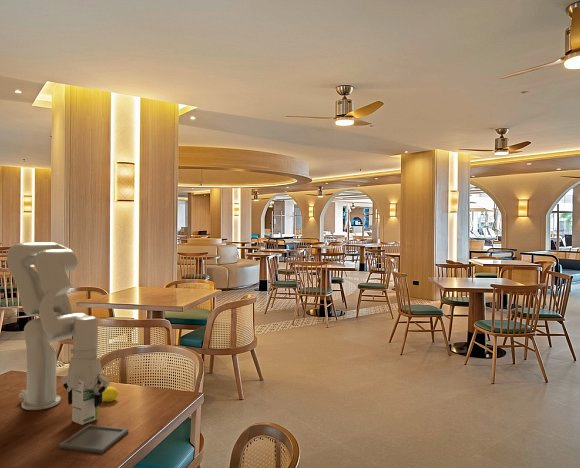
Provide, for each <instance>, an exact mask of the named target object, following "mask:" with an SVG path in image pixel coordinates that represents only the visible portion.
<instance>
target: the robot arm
mask: <svg viewBox="0 0 580 468" xmlns="http://www.w3.org/2000/svg"><path fill="white" fill-rule="evenodd" d="M6 263H7V264H6V265H7V268H8V270H9V272H10V275H11V276H12V278H13V279H14V282H15V285H16V289H17V292H18V295H19V300H20V304H21V306H22V310H23V312H24V314H25V315H27V316H29V317H34V316H39V317H36V318H34V319H30V320H29V321H28V322H26V324H25V326H24V328H23V336H24V340H25V345H26V389H22V390H20V393H18V398H21V399H22V398H23V401H22V402H21V408H22V409H23V410H28V411H40V410H45V409H50V408H53V407H54V406H56V405H58V404H60V403H61V401H62V400H61V398H62V397H61V396H60V395H57V361H58V360H57V352H56V350H55V349H54V348H53V347H52V345H51V343H55V342H58V341H63V340H67V339H70V338H72V337H73V338H72V341H73V342H72V349H70V353H71V354H72V357H71V358H70V360H69V364H68V369H67V370H68V372H67V375H65V376H63V377H61V379H60V380H61V383H62V384H63V387H64V389H65V391H66V393H67V402H68V403H67V404H68V405H72V388H73V389H78V387H79V380H82V381H84V388H85V390H92V389H93V390H94V392H95V393H96V395H95V396H94V406H95V407H97V408H98V407H99V406H101V405H102V403H103V400H102V393H103V392H104V391H105V390H106V389H107V387H109V384H110V383H111V382H110V380H109V379H108V378H106V377H105V376H103V375H102V365H101V360H100V357H99V356H98V352H99V350H98V349H99V348H98V347H99V346H98V345H99V343H98V341H99V340H98V339H99V337H98V336H99V334H98V333H99V332H98V331H99V328H98V327H99V321H98V318H97V317H96V316H93V315H88V314H86V313H84V312H75V313H74V312H73V308H72V304H71V301H70V297H69V295H68V293H67V292H68V291H69V290H70V289H71V287H72V286H71V285H72V284H71V282H70V281H71V280H70V279H69V276H68V274H67V272H71V271H75V269H76V268H77V266H78V257H77V255H76V253H75V252H74V251H73V250H72V249H71V248H69V247H66V246H64V245H62V244H59V243H57V242H54V241H53V242H50V241H46V242H45V241H44V242H40V241H38V242H32V241H31V242H30V241H29V242H28V241H27V242H19V243H14V244H13V245H11V246H10V247H9V249H7V253H6ZM32 266H35V269H34V268H32Z"/></svg>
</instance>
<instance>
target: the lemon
mask: <svg viewBox="0 0 580 468" xmlns="http://www.w3.org/2000/svg"><path fill="white" fill-rule="evenodd" d="M118 396H119V392H118V390H117V388H115V387H114V386H107V389H106V390H105V391H104V392H103V393H102V402H107V403H108V402H110V403H111V402H112V401H113V402H114V400H116V398H117V397H118Z"/></svg>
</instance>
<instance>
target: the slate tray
mask: <svg viewBox="0 0 580 468" xmlns="http://www.w3.org/2000/svg"><path fill="white" fill-rule="evenodd" d="M128 433H129V428H126V427H120V426H119V427H117V426H110V425H109V426H107V425H100V424H98V425H97V424H90V423H89V424H87V425H86V426H84V427H82V428H81V429H79V430H78V431H76V432H75V433H74V434H72V435H70V436H69V437H67V438H66V439H65V440H63V441H61V442H60V443H59V444H58V449H62V450H69V451H78V452H85V453H86V452H87V453H93V454H104V452H106V451H107V450H108V449H109V448H111V447H112V446H114V445H115V444H116V443H117V442H119V440H121V439H123V438H124V437H125V436H126V435H127V434H128Z"/></svg>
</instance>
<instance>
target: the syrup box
mask: <svg viewBox="0 0 580 468" xmlns="http://www.w3.org/2000/svg"><path fill="white" fill-rule="evenodd" d="M95 395H96V393H95V392H94V390H93V389H92V390H85V388H84V381H82V380H79V387H78V389H73V388H72V404H71V406H72V411H71V413H72V415H71V416H72V418H71V419H72V422H74V423H76V424H79V425H81V426H83V425H85V424H88V423H90V422H93V421H96V420H98V406H97V407H95V406H94V396H95Z"/></svg>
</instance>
